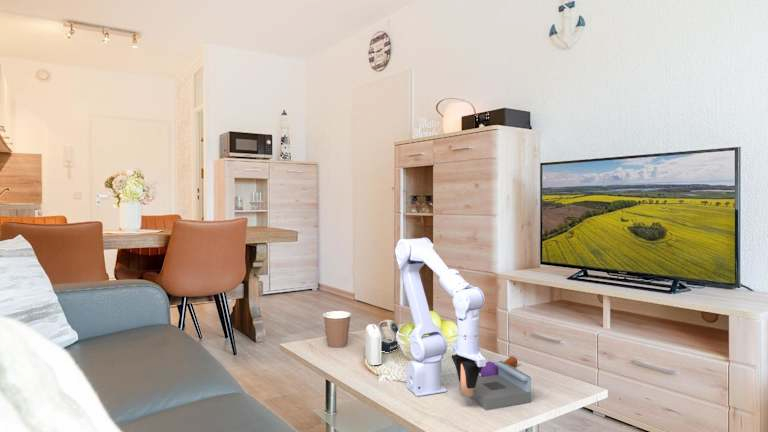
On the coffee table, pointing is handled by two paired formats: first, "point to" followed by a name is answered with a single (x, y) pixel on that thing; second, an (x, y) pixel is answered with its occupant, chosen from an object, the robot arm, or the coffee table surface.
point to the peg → (463, 387)
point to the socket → (502, 388)
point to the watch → (386, 343)
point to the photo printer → (373, 344)
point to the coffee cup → (337, 328)
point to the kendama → (496, 367)
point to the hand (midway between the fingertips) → (467, 384)
